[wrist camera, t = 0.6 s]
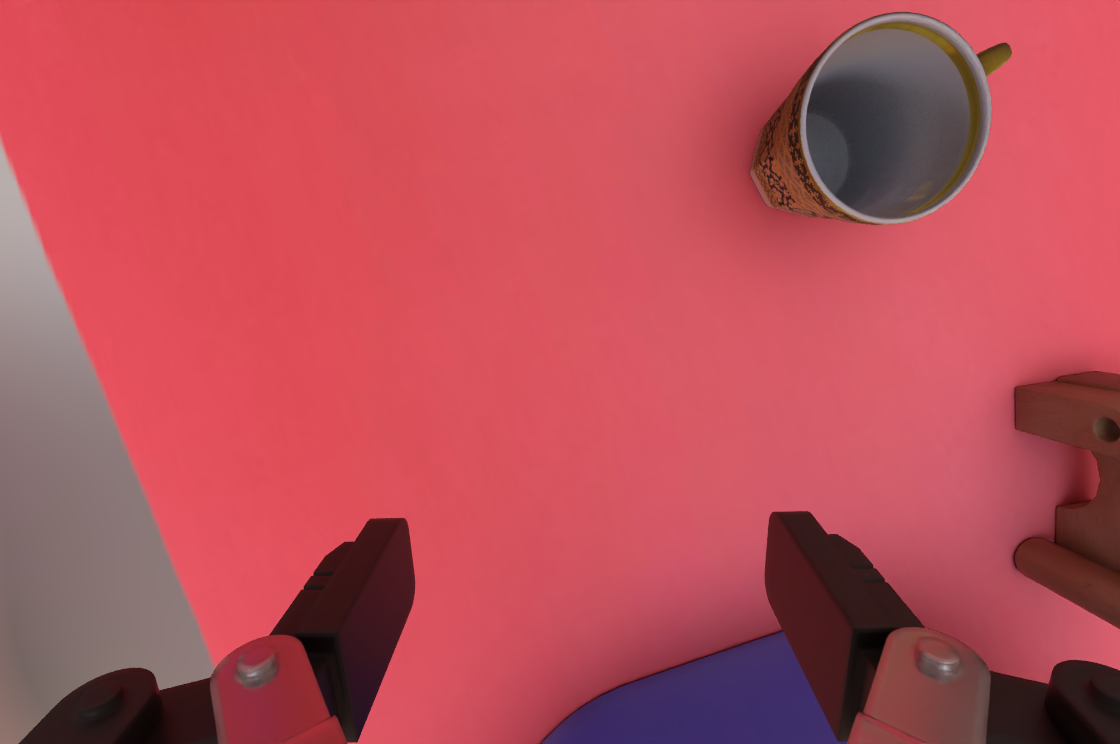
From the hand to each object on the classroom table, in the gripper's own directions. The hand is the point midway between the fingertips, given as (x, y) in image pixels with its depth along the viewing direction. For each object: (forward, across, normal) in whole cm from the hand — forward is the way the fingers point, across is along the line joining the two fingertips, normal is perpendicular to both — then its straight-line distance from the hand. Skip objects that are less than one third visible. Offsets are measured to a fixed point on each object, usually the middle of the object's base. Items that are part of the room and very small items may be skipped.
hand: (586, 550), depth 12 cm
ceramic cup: (+30, -16, -10) cm, 36 cm away
